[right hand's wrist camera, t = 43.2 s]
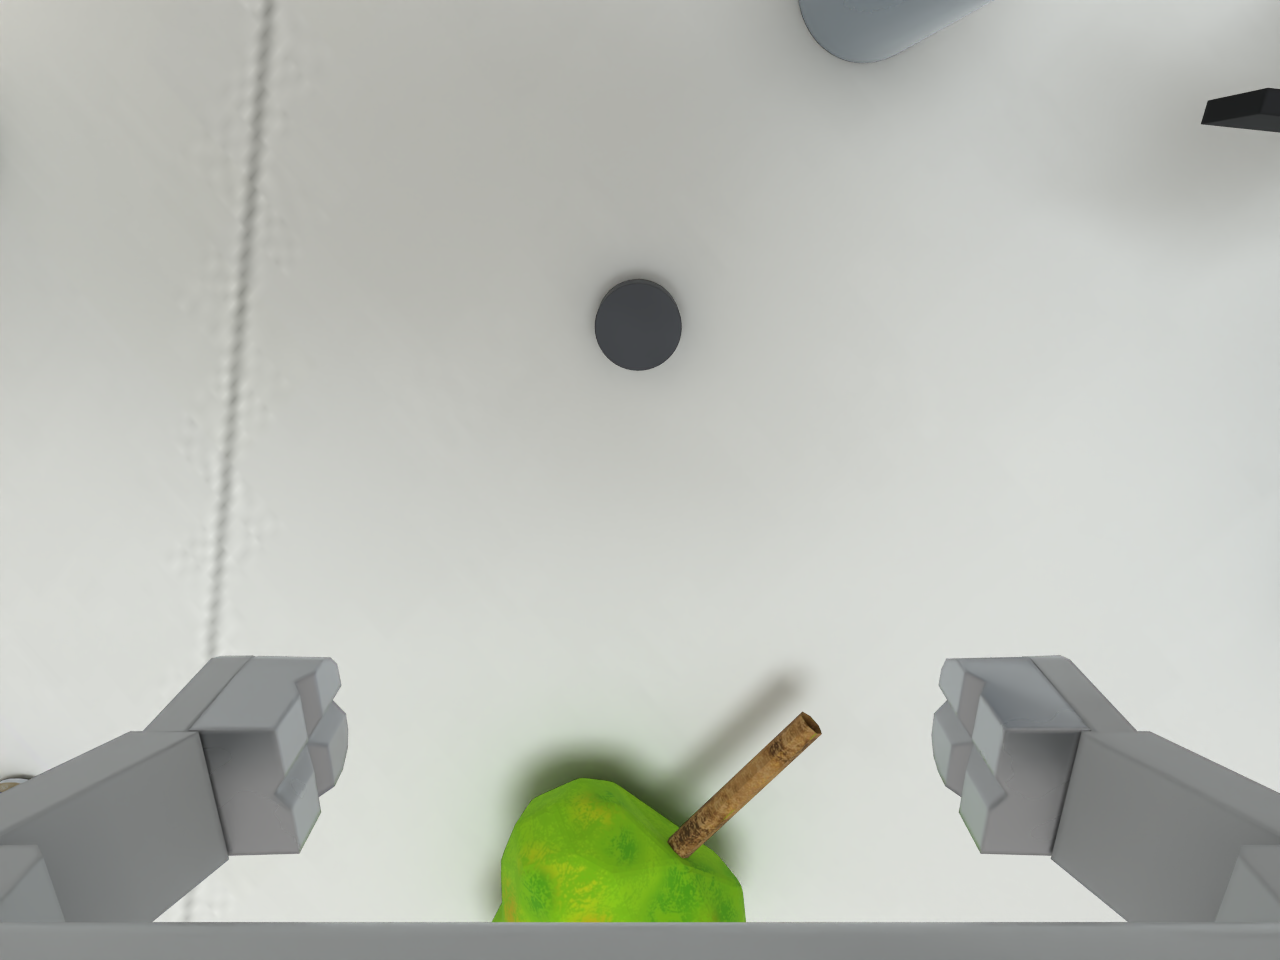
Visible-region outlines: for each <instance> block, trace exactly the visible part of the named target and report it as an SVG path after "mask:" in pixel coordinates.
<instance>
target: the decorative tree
mask: <svg viewBox="0 0 1280 960" xmlns="http://www.w3.org/2000/svg"><path fill="white" fill-rule="evenodd" d="M821 734H822V733H821V730H820V728H819V726H818V724H817V723H816V722H815V721H814V720H813V719H812V718H811V716H809V715H807V714H806V713H804V712H802V713H801V714H799V715H798V716H797V717H796V718H795V719H794V720H793V721H792V722H791V723H790V724H789V725H788V726H787V727H786V728H785V729H784V730H783V731H781V732H780V733H779V734H778V735H777V736H776V737H775V738H774V739H773V740H772V741H771V742H770V743H769V744H768V745H767V746H766V747H765V748H763V749H762V750H761V751H760V752H759V753H758V754H757V755H756V756H755V757H754V758H753V759H752V760H751V761H750V762H749V763H748V764H747V765H745V766H744V767H743V768H742V769H741V770H740V771H739V772H738V773H737V774H736V775H735V776H734V777H733V778H732V779H731V780H730V781H729V782H728V783H726V784H725V785H724V786H723V787H722V788H721V789H720V790H719V791H718V792H717V793H716V794H715V795H714V796H713V797H712V798H711V799H710V800H708V801H707V802H706V803H705V804H704V805H703V806H702V807H701V808H700V809H699V810H698V811H697V812H696V813H695V814H694V815H693V816H692V817H690V818H689V819H688V820H687V821H686V822H685V823H684V824H683V825H682V826H681V827H680V828H679V827H678V826H677V825H675V824H674V823H672V822H671V821H669V820H668V819H666V818H665V817H664V816H662V815H661V814H659V813H658V812H656V811H655V810H654V809H652V808H651V807H649V806H648V805H646V804H645V803H643V802H642V801H641V800H639V799H638V798H636V797H635V796H633V795H632V794H631V793H629V792H628V791H626V790H625V789H623V788H622V787H620V786H619V785H617V784H616V783H614V782H610V781H605V780H597V779H589V778H579V779H576V780H573V781H571V782H568V783H566V784H564V785H562V786H559V787H557V788H555V789H553V790H550V791H548V792H546V793H544V794H541V795H539V796H538V797H536V798H534V799H533V800H532V801H531V802H530V803H529V805H528V806H527V807H526V809H525V810H524V812H523V813H522V815H521V816H520V818H519V820H518V821H517V823H516V824H515V826H514V829H513V831H512V833H511V836H510V838H509V841H508V843H507V845H506V848H505V851H504V854H503V857H502V860H501V886H502V904H501V906H500V907H499V909H498V911H497V913H496V915H495V917H494V919H493V921H492V922H746V918H745V908H744V898H743V891H742V887H741V885H740V883H739V881H738V879H737V878H736V877H735V876H734V874H733V873H732V872H731V871H730V869H729V868H728V867H727V866H726V865H725V863H724V862H723V861H722V860H721V858H720V857H719V856H718V855H717V854H716V853H715V852H714V851H713V850H711V849H710V848H708V847H707V846H705V845H704V844H703V843H705V842H706V841H707V840H708V839H709V838H710V837H711V836H712V835H713V834H714V833H715V832H716V831H718V830H719V829H720V828H721V827H722V826H723V825H724V824H725V823H726V822H727V821H728V820H729V819H730V818H732V817H733V816H734V815H735V814H736V813H737V812H738V811H739V810H740V809H741V808H742V807H743V806H744V805H746V804H747V803H748V802H749V801H750V800H751V799H752V798H753V797H754V796H755V795H756V794H757V793H759V792H760V791H761V790H762V789H763V788H764V787H765V786H766V785H767V784H768V783H769V782H770V781H771V780H773V779H774V778H775V777H776V776H777V775H778V774H779V773H780V772H781V771H782V770H783V769H784V768H785V767H787V766H788V765H789V764H790V763H791V762H792V761H793V760H794V759H795V758H796V757H797V756H798V755H800V754H801V753H802V752H803V751H804V750H805V749H806V748H807V747H808V746H809V745H810V744H811V743H812V742H814V741H815V740H816V739H817V738H818V737H819V736H820V735H821Z"/></svg>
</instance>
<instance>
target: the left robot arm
mask: <svg viewBox="0 0 1280 960" xmlns="http://www.w3.org/2000/svg"><path fill="white" fill-rule="evenodd" d="M1201 124H1205V125H1214V126H1224V127H1233V128H1243V129H1252V130H1262V131H1271V132H1280V89H1273V88H1265V89H1260V90H1256V91H1251V92H1246V93H1242V94H1237V95H1232V96H1228V97H1223V98H1218V99H1214V100H1209V101H1208V102H1207V105H1206V109H1205V112H1204V116H1203V119H1202V122H1201Z"/></svg>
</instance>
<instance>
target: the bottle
mask: <svg viewBox="0 0 1280 960" xmlns="http://www.w3.org/2000/svg"><path fill="white" fill-rule="evenodd" d="M992 1H994V0H799V5H800V9H801V13H802V16H803V19H804V21H805V23H806V26H807V28H808V29H809V31H810V33H811V34H812V36H813V37H814V38H815V40H816V41H817V42H818V43H819V44H820V45H821V46H822V47H823V48H824V49H825V50H827V51H828V52H830V53H831V54H833V55H835V56H837V57H838V58H841V59H844V60H847V61H850V62H856V63H871V62H877V61H881V60H885V59H887V58H890V57H892V56H894V55H896V54H898V53H900V52H902V51H903V50H905V49H907V48H909V47H911V46H913V45H914V44H916V43H918V42H920V41H922V40H923V39H925V38H927V37H929V36H931V35H932V34H934V33H936V32H938V31H940V30H941V29H943V28H945V27H947V26H949V25H950V24H952V23H954V22H956V21H958V20H960V19H961V18H963V17H965V16H967V15H969V14H970V13H972V12H974V11H976V10H978V9H979V8H981V7H983V6H985V5H987V4H988V3H990V2H992Z"/></svg>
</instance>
